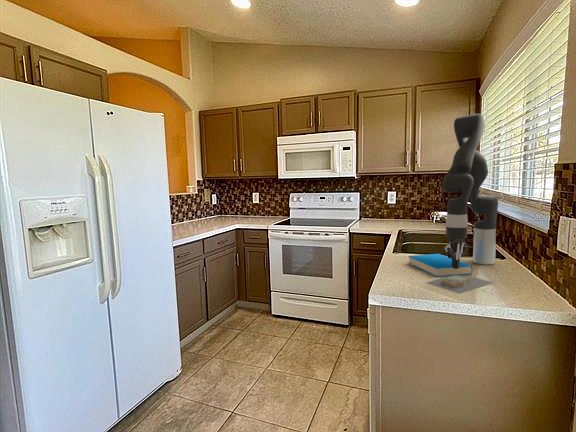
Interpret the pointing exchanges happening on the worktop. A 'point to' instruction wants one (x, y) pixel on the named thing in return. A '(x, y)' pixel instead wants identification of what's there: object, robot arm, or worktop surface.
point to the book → (439, 265)
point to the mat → (473, 285)
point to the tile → (455, 281)
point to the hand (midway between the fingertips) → (455, 268)
